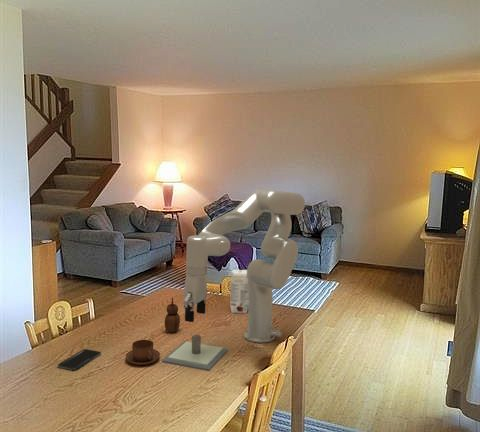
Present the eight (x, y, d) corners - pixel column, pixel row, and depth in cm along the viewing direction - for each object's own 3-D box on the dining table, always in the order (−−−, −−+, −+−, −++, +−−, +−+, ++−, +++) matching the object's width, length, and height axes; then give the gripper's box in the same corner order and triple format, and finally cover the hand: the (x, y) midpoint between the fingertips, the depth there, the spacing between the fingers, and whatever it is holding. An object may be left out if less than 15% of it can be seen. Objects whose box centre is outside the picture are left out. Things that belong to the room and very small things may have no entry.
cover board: (222, 349, 182) (223, 332, 181) (206, 366, 168) (207, 347, 167) (186, 343, 187) (186, 326, 186) (167, 359, 173) (167, 340, 172)
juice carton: (248, 313, 223) (249, 273, 220) (229, 313, 223) (230, 273, 220) (248, 308, 230) (249, 269, 227) (230, 308, 230) (231, 268, 228)
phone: (56, 365, 166) (84, 348, 180) (56, 368, 166) (84, 351, 180) (75, 369, 163) (102, 352, 177) (75, 372, 163) (102, 355, 177)
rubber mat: (228, 350, 183) (228, 348, 183) (209, 370, 166) (209, 369, 166) (184, 342, 189) (184, 341, 189) (162, 361, 172) (162, 360, 172)
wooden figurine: (176, 334, 196) (176, 298, 194) (162, 333, 198) (162, 297, 195) (181, 328, 203) (181, 293, 201) (168, 327, 204) (168, 292, 202)
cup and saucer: (167, 358, 175) (167, 342, 174) (143, 371, 165) (143, 353, 164) (142, 350, 181) (142, 334, 181) (118, 362, 171) (118, 345, 170)
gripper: (197, 264, 182) (195, 308, 184) (175, 274, 166) (174, 323, 168) (215, 266, 179) (214, 311, 182) (196, 277, 163) (194, 326, 165)
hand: (195, 317), depth 175 cm, fingers open, 9 cm apart
